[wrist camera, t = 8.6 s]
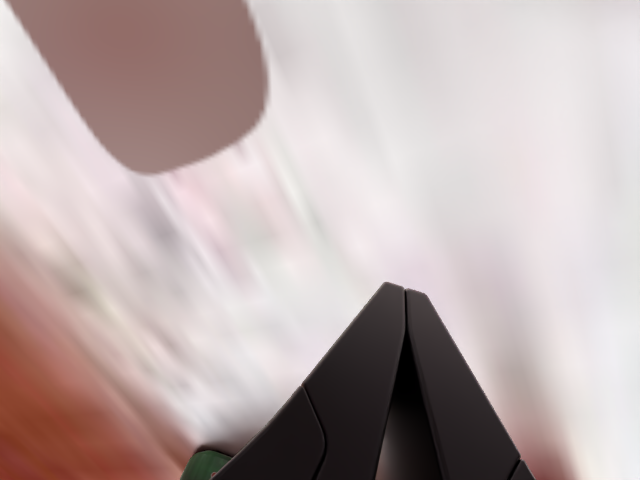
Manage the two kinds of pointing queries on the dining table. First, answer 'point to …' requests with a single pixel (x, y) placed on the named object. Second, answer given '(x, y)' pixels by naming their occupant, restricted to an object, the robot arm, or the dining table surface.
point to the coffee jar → (204, 465)
